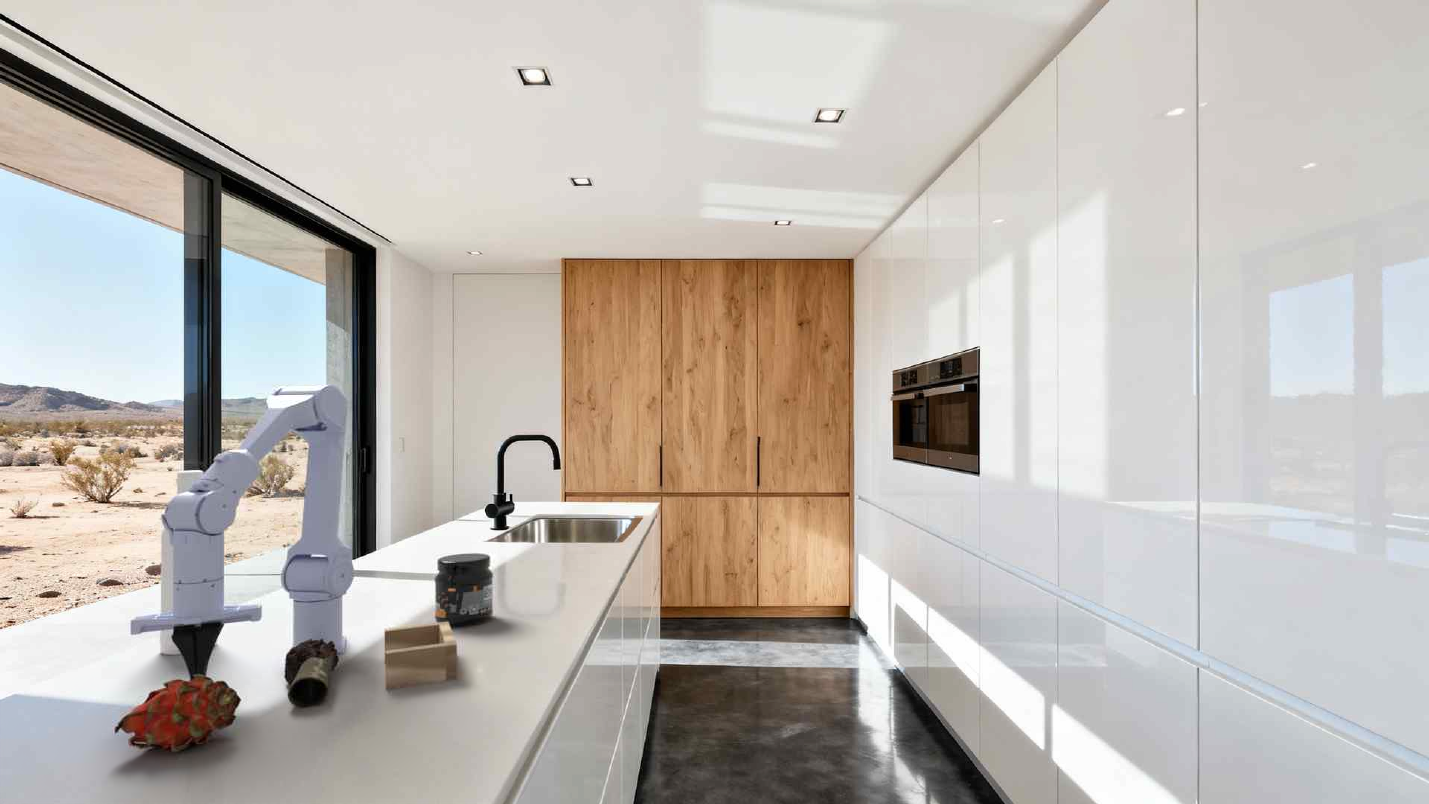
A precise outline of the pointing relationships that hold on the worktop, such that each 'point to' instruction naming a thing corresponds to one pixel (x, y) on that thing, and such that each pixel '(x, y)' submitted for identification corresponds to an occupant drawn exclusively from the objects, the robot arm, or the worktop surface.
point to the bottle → (166, 644)
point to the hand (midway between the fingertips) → (198, 679)
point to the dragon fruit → (181, 714)
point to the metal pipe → (310, 672)
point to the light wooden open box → (420, 654)
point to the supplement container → (463, 589)
